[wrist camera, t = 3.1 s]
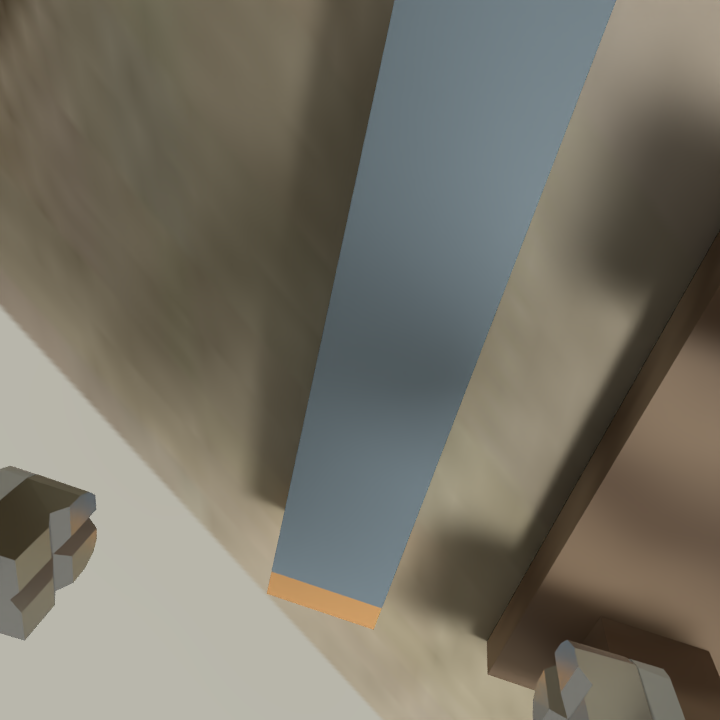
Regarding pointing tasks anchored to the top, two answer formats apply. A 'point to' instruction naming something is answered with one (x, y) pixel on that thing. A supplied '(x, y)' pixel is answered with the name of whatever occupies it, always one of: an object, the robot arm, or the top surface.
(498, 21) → the rail
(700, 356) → the stand
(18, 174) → the top surface
